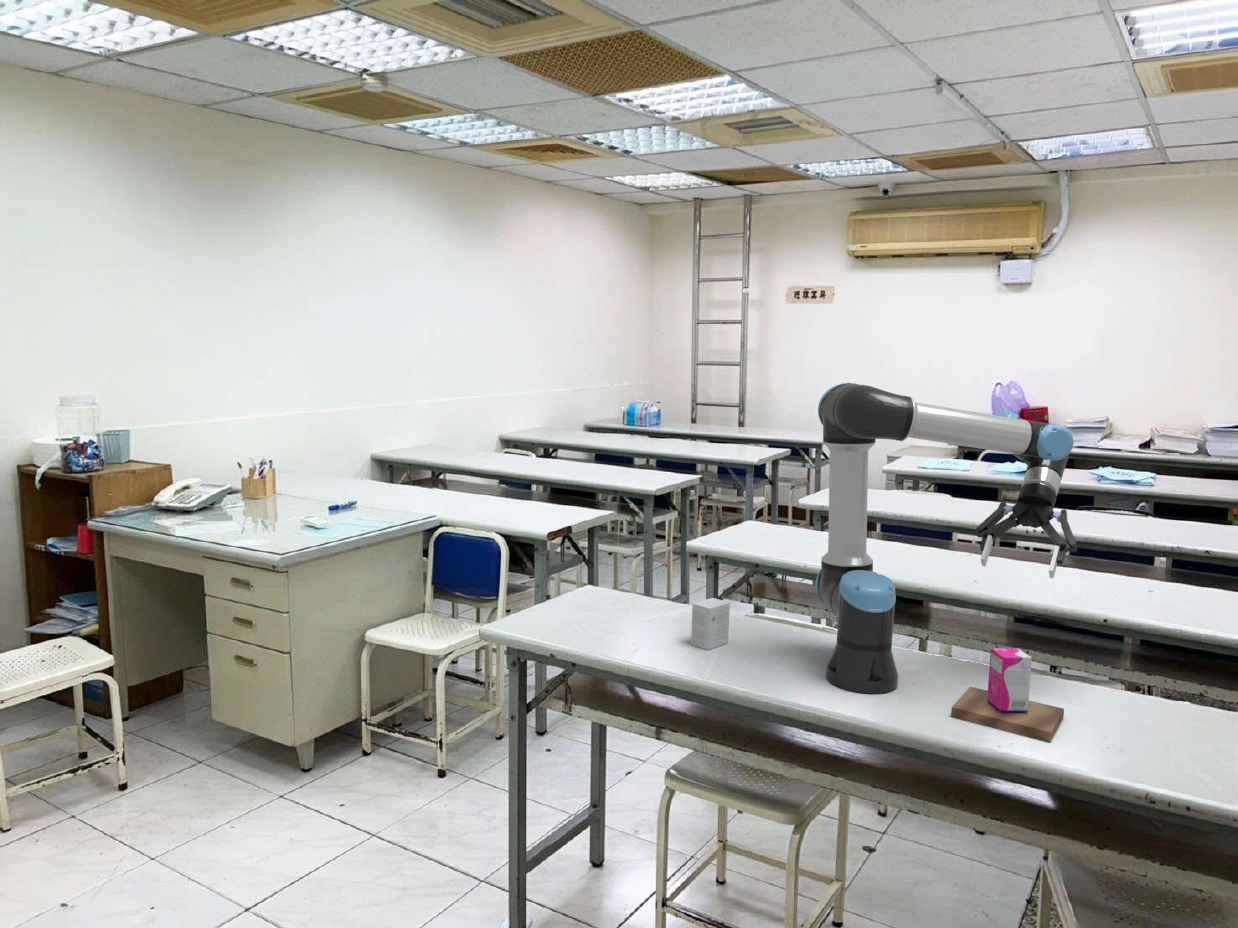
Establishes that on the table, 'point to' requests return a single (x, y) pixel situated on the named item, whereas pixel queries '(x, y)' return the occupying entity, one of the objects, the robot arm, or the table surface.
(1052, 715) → the brown flat block
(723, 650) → the table surface
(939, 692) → the table surface
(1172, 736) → the table surface
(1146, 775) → the table surface
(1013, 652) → the supplement box
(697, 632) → the small box
